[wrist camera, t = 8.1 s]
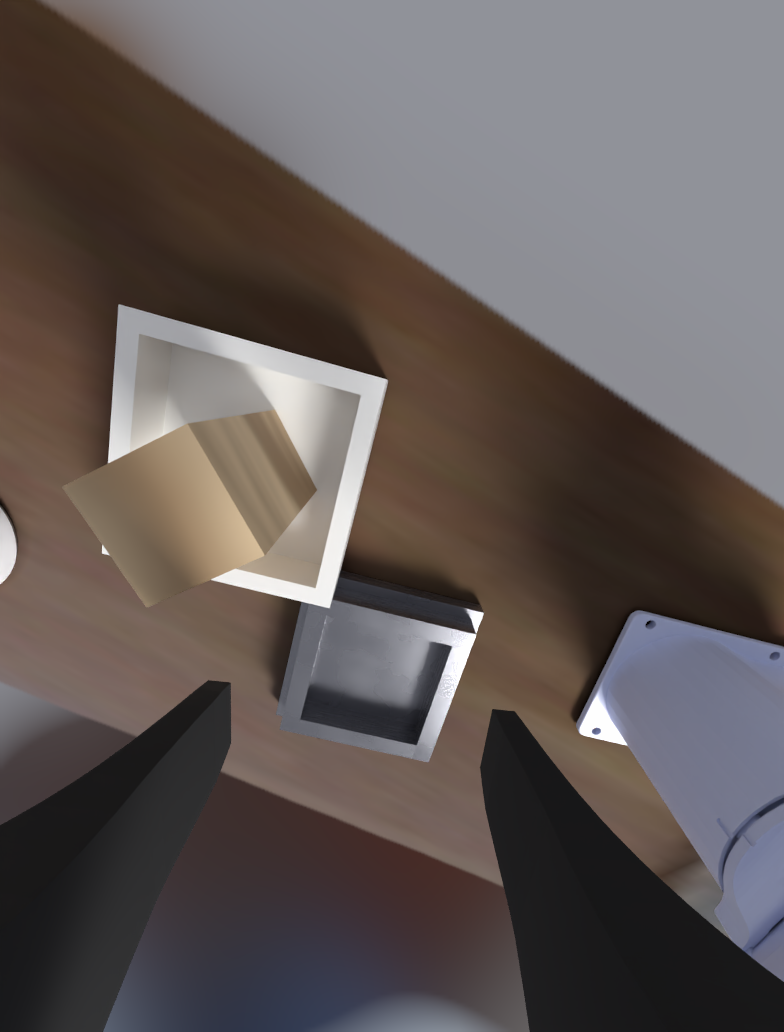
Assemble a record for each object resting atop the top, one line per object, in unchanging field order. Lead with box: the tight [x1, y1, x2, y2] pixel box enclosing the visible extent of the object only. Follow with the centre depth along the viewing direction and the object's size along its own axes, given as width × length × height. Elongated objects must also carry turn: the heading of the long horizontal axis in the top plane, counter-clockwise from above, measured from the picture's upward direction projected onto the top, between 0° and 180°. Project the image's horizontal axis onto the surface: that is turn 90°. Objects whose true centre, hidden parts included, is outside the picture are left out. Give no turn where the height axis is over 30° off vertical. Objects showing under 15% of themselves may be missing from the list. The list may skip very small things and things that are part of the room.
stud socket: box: [276, 571, 484, 762], centre depth 22 cm, size 9×9×2 cm
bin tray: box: [102, 304, 388, 608], centre depth 18 cm, size 10×10×3 cm
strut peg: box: [62, 410, 317, 608], centre depth 15 cm, size 4×4×8 cm
